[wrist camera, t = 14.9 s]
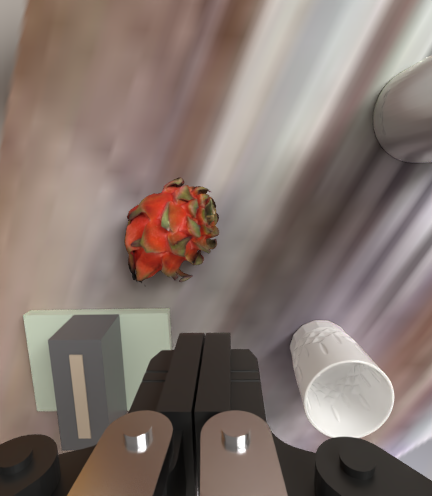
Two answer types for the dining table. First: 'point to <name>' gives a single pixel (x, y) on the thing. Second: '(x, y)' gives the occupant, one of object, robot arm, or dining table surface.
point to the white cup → (339, 382)
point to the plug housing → (87, 378)
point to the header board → (132, 336)
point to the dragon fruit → (170, 231)
